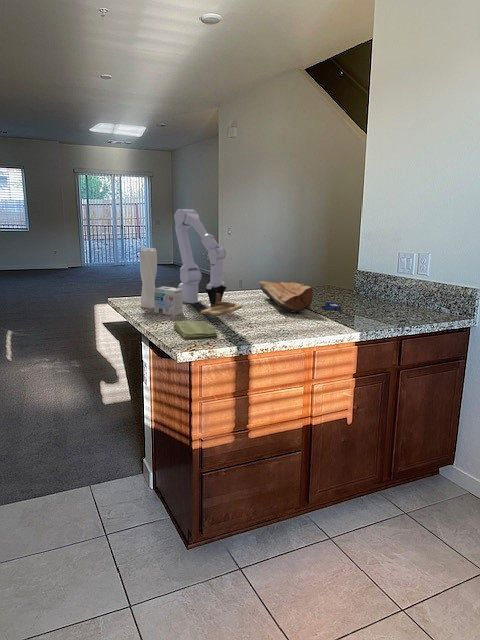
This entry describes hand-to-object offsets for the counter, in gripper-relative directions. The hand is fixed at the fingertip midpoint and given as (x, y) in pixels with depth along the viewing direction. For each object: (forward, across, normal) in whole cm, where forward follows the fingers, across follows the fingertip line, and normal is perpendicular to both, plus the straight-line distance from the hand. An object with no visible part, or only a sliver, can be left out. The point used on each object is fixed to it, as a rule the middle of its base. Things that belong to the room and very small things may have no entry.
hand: (215, 302), depth 219 cm
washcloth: (+2, -48, -17) cm, 51 cm away
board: (+2, -6, -6) cm, 9 cm away
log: (+2, +21, -26) cm, 33 cm away
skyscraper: (+2, -19, +24) cm, 31 cm away
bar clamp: (+2, +22, -54) cm, 58 cm away
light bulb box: (+2, -25, +10) cm, 27 cm away
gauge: (+2, 0, -4) cm, 5 cm away
